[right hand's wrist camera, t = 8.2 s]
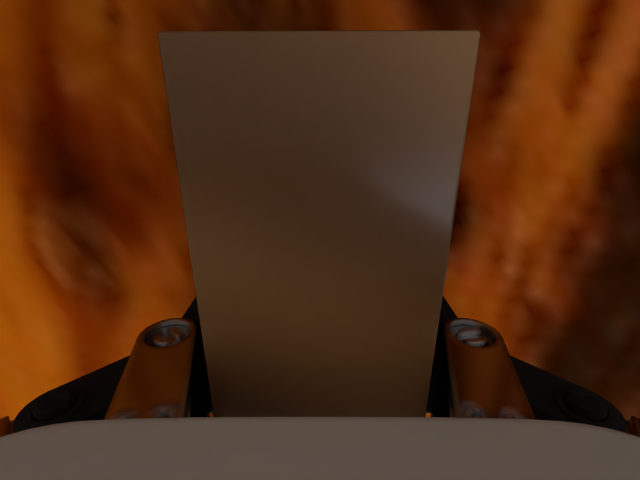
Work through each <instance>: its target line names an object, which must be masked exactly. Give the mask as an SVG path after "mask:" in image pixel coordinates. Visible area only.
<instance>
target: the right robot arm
mask: <svg viewBox="0 0 640 480" xmlns="http://www.w3.org/2000/svg"><path fill="white" fill-rule="evenodd" d="M209 413H213V407H212V400H211V394H210V387H209V380H208V373H207V366H206V359H205V353H204V346H203V339H202V332H201V325H200V319H199V312H198V305H197V298H195V299H194V301H193V302H192V304H191V305H190V307H189V308H188V310H187V311H186V313H185V314H184V316H183V317H182V318H171V319H166V320H162V321H159V322H157V323H154V324H152V325H150V326H149V327H147V328H146V329H144V330H143V331H142V332H141V333H140V335H139V336H138V338H137V340H136V342H135V345H134V347H133V350H132V352H131V355H130V356H128V357H125V358H123V359H121V360H118V361H116V362H114V363H112V364H109V365H107V366H105V367H103V368H100V369H98V370H96V371H93V372H91V373H89V374H87V375H84V376H82V377H80V378H78V379H75V380H73V381H71V382H68V383H66V384H64V385H62V386H59V387H57V388H55V389H53V390H50V391H48V392H46V393H44V394H43V395H41V396H39V397H37V398H36V399H34V400H33V401H31V402H30V403H29V404H27V405H26V406H25V407H24V408H23V409H22V410H21V411H20V412H19V413H18V415H17V416H16V418H15V420H13V421H10V419H9V416H6V417H4V418H1V419H0V480H640V419H639V418H636V417H634V416H631V418H630V420H629V421H627V420H625V419H624V417H623V415H622V414H621V412H620V411H619V410H618V409H617V408H616V407H615V406H614V405H613V404H611V403H610V402H608V401H607V400H606V399H604V398H603V397H601V396H599V395H597V394H596V393H594V392H592V391H590V390H587V389H585V388H583V387H580V386H578V385H576V384H574V383H571V382H569V381H567V380H564V379H562V378H560V377H558V376H555V375H553V374H551V373H549V372H546V371H544V370H542V369H539V368H537V367H535V366H533V365H530V364H528V363H526V362H524V361H521V360H519V359H517V358H514V357H512V356H510V355H509V352H508V350H507V347H506V345H505V342H504V340H503V338H502V336H501V335H500V333H499V332H498V331H497V330H496V329H494V328H493V327H491V326H490V325H488V324H486V323H483V322H481V321H478V320H474V319H469V318H457V316H456V315H455V313H454V312H453V310H452V309H451V307H450V306H449V304H448V303H447V301H446V300H445V298H444V297H443V296H442V303H441V310H440V317H439V324H438V331H437V338H436V345H435V352H434V359H433V366H432V373H431V380H430V387H429V394H428V401H427V408H426V413H431V416H430V417H210V416H209Z"/></svg>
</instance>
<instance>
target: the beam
mask: <svg viewBox="0 0 640 480" xmlns="http://www.w3.org/2000/svg"><path fill="white" fill-rule="evenodd" d="M479 38H480V32H479V31H477V30H331V31H160V32H158V39H159V45H160V52H161V59H162V66H163V73H164V80H165V86H166V93H167V100H168V107H169V114H170V121H171V127H172V134H173V141H174V148H175V155H176V162H177V168H178V175H179V182H180V189H181V196H182V202H183V209H184V216H185V223H186V230H187V237H188V243H189V250H190V257H191V264H192V271H193V278H194V284H195V291H196V298H197V305H198V312H199V319H200V325H201V332H202V339H203V346H204V353H205V359H206V366H207V373H208V380H209V387H210V394H211V400H212V407H213V414H214V417H425V415H426V408H427V401H428V394H429V387H430V380H431V373H432V366H433V359H434V352H435V345H436V338H437V331H438V324H439V317H440V310H441V303H442V296H443V289H444V282H445V275H446V268H447V261H448V254H449V247H450V241H451V234H452V227H453V220H454V213H455V206H456V199H457V192H458V185H459V178H460V171H461V164H462V157H463V150H464V143H465V136H466V129H467V122H468V115H469V108H470V101H471V94H472V87H473V80H474V73H475V66H476V59H477V52H478V45H479Z"/></svg>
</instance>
